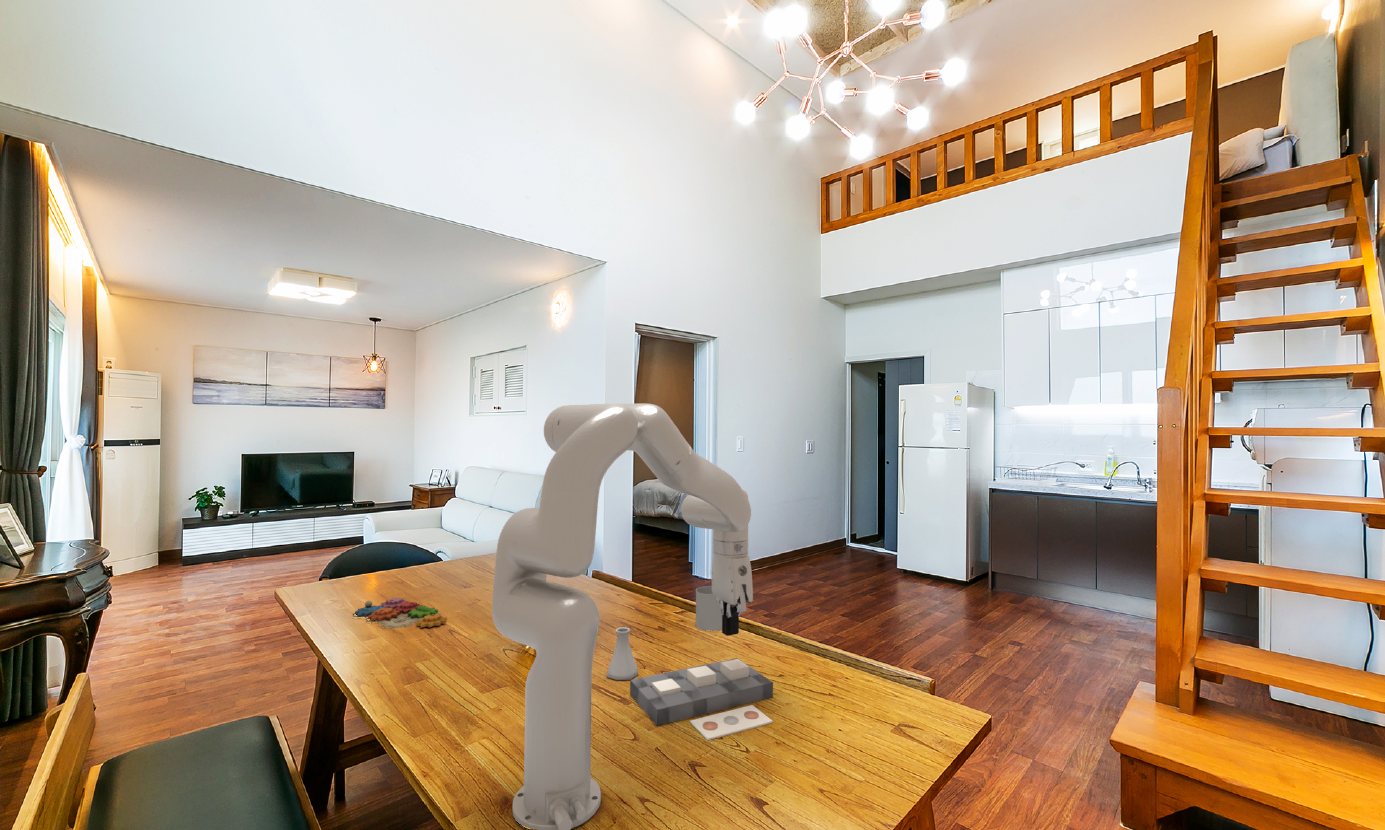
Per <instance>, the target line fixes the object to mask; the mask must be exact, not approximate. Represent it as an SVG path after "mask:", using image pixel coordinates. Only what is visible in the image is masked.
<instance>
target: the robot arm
mask: <svg viewBox="0 0 1385 830" xmlns="http://www.w3.org/2000/svg"><path fill="white" fill-rule="evenodd" d="M543 436H544V440H545V442H546V444H547V446H548V447H549V448H550V449H551V450H552V451H553V452H555V453H554V454H553V456H552V458H551V459H550V462H548V466H547V467H546V470H545V473H544V476H543V482H542V488H541V495H540V502H539V507H528V508H527V507H526V508H523V509H520V510H518V511H516V512H515V513H514V514H513V515H511V516H510V517H509V518H508V519H507V521H506V522H505V524H504V526H503V527H502V529H501V532H500V534H499V536H498V541H497V545H496V546H497V547H496V552H495V553H496V554H495V565H494V566H495V567H494V576H493V586H492V587H493V589H492V600H491V616H492V621H493V624H494V627H495V628H496V630H497V631H498V633H499V634H501V636H503V637H505V638H506V639H508V640H511V641H513V642H516V643H519V644H521V645H523V646H527V647H529V648H532V649H534V651H535V653H536V654H535V659H534V661H533V663H532V665H531V667H530V669H529V671H528V675H527V677H526V681H525V685H524V686H525V687H524V690H525V691H524V704H525V705H524V751H523V752H524V757H523V759H524V761H523V762H524V763H523V767H524V769H523V785H522V786H521V788H520V789H519V790H518V791H517V792H516V793H515V795H514V797H513V800H512V810H511V811H512V816H513V818H515V819H514V821H515V822H516V821H517V822H518V823H519V824H521V825H523V826H525V827H528V828H530V829H538V830H571V829H574V827H575V828H577V827H579V826H581V825H583V824H584V823H586V822H587V821H589V820H590V819H591V818H592V817H593V816H594V815H595V814H596V813H597V811H598V810H599V808H600V806H601V801H602V800H601V799H602V792H601V791H602V790H601V786H600V784H599V783H598V782H597V780H595V779H594V778H593V777H591V771H592V769H591V767H592V764H591V763H592V762H591V761H592V755H591V754H592V751H591V749H592V685H593V684H592V683H593V681H592V680H593V679H592V678H593V664H594V662H593V661H594V654H595V648H596V643H597V637H598V632H599V628H600V611H599V608H598V606H597V603H596V602H595V600H594V599H593V597H591V596H590V595H588V593H586V592H584V591H583V590H580V589H578V588H575V587H572V586H568V585H564V584H561V583H557V582H553V581H552V582H550V581H547V576H548V575H549V576H553V577H558V578H568V579H569V578H570V579H571V578H576V577H577V578H578V577H579V576H581V575H583V574H585V573H586V572H587V571H588V570H589V568H590V566H591V564H592V561H593V558H594V553H595V545H596V535H597V519H598V509H599V507H598V505H599V497H600V490H601V485H602V482H603V479H604V476H605V475H606V473H607V472H608V470H609V469H610V467H611V466H612V464H614V462H615V461H616V460H618V459H619V458H620V457H621V456H622V455H623V454H625V452H627V451H632V452H634V453H636V454H637V455H638V456H639V458H640V459H641V460H642V461H643V462H644V464H645V465H646V466H647V467H648V469H650V471H651V473H653V475H654V476H655V477H656V479H658V482H660V483H661V484H662V485H664V486H666V487H667V488H670V489H673V490H674V491H676V492H678V493H682V494H685V495H686V497H684V499H683V501H682V503H681V507H680V511H681V517H682V519H683V520H684V521H685V522H686V523H687V524H688V525H690V526H692V527H694V528H699V529H704V530H705V529H706V530H712V555H713V556H712V565H711V586H712V593H713V594H714V595H715V596H716V599H717V600H718V601H719V603H720V607H721V613H722V614H724V615H722V630H721V633H722V635H724V636H727V637H728V636H734V635H738V634H739V633H740V631H739V630H740V628H739V627H740V625H739V624H740V616H741V613H745V612H747V604H751V603H752V602H753V600H754V596H753V595H754V591H753V589H754V588H753V587H754V586H753V575H752V574H753V573H752V565H751V561H750V556H749V523H750V521H751V517H752V509H751V508H752V507H751V505H750V504H751V503H750V500H749V495H748V493H747V491H746V490H744V489H742V487H741V485H740V484H739V483H738V481H737V480H736V479H735V478H734V477H733V476H732V475H730V474H729V472H727V471H725V470H724V469H722V468H721V467H719V466H717V465H715V464H714V463H713V462H711V461H710V460H708V459H706V458H704V457H703V456H701V455H698V454H697V453H696V452H695V451H694V449H693V448H692V446H691V445H690V444H689V442H688V441H687V440H686V438H685V437H684V435H682V433H681V431H680V429H679V428H678V427H677V425H675V422H674V421H673V420H672V419H671V417H670V416H669V414H667V412H666V411H665V410H664V409H663V408H662V407H660V406H659V405H656V404H652V403H644V402H643V403H642V402H641V403H595V404H594V403H592V404H573V405H572V404H569V405H566V404H565V405H562V406H559V407H557V408H555V409H553V410H552V411H551V412H550V413H549V414H548V416H547V417H546V419H545V422H544V424H543ZM517 822H516V823H517ZM518 823H517V824H518ZM519 824H518V825H519ZM521 825H520V826H521Z"/></svg>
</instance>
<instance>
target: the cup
mask: <svg viewBox="0 0 1385 830" xmlns="http://www.w3.org/2000/svg"><path fill="white" fill-rule="evenodd" d="M722 615H724V614H722V613H721V607H720V603H719V601H718V600H717V599H716V596H715V595H714V594H713V593H712V585H705V586H700V587H697V588H696V589H695V628H696V627H698V628H699V629H701V630H700V631H703V630H710V631H709V632H715V631H714V630H719V631H722ZM698 628H697V629H698ZM699 629H698V630H699ZM711 630H712V631H711Z"/></svg>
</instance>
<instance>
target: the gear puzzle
mask: <svg viewBox="0 0 1385 830" xmlns="http://www.w3.org/2000/svg"><path fill="white" fill-rule="evenodd" d="M353 614H356V615H357V616H352V617H365V618H366V617H368V618H366V619H370V620H369V621H367V620H366V619H365V620H366V621H365V623H366V622H377V623H381V624H383V625H381V624H380V628H381V627H384V628H386V627H391V628H390V629H392V628H397V629H399V628H398V627H400V628H403V627H402V626H405V627H404V628H408V626H409V627H411V626H410V625H412V626H413V625H414V624H415V626H416V627H420V628H425V627H427V628H431V627H436V626H438V627H439V626H441V625H442V624H446V623H447V621H448V617H446V616H443V615H441V612H439V609H436V608H435V607H428V606H425V605H422V604H420V603H417V602H416V601H409V600H406V599H404V598H401V597H392V598H389V599H386V600H385V601H384V602H381V604H380V605H373V602H372V601H371V600H366V601H365V602H364V607H361V608H358V609H357V610H356V611H354V613H353ZM415 622H417V623H415ZM377 623H376V624H377ZM412 623H413V624H412ZM384 628H383V629H384ZM386 629H387V628H386Z"/></svg>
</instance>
